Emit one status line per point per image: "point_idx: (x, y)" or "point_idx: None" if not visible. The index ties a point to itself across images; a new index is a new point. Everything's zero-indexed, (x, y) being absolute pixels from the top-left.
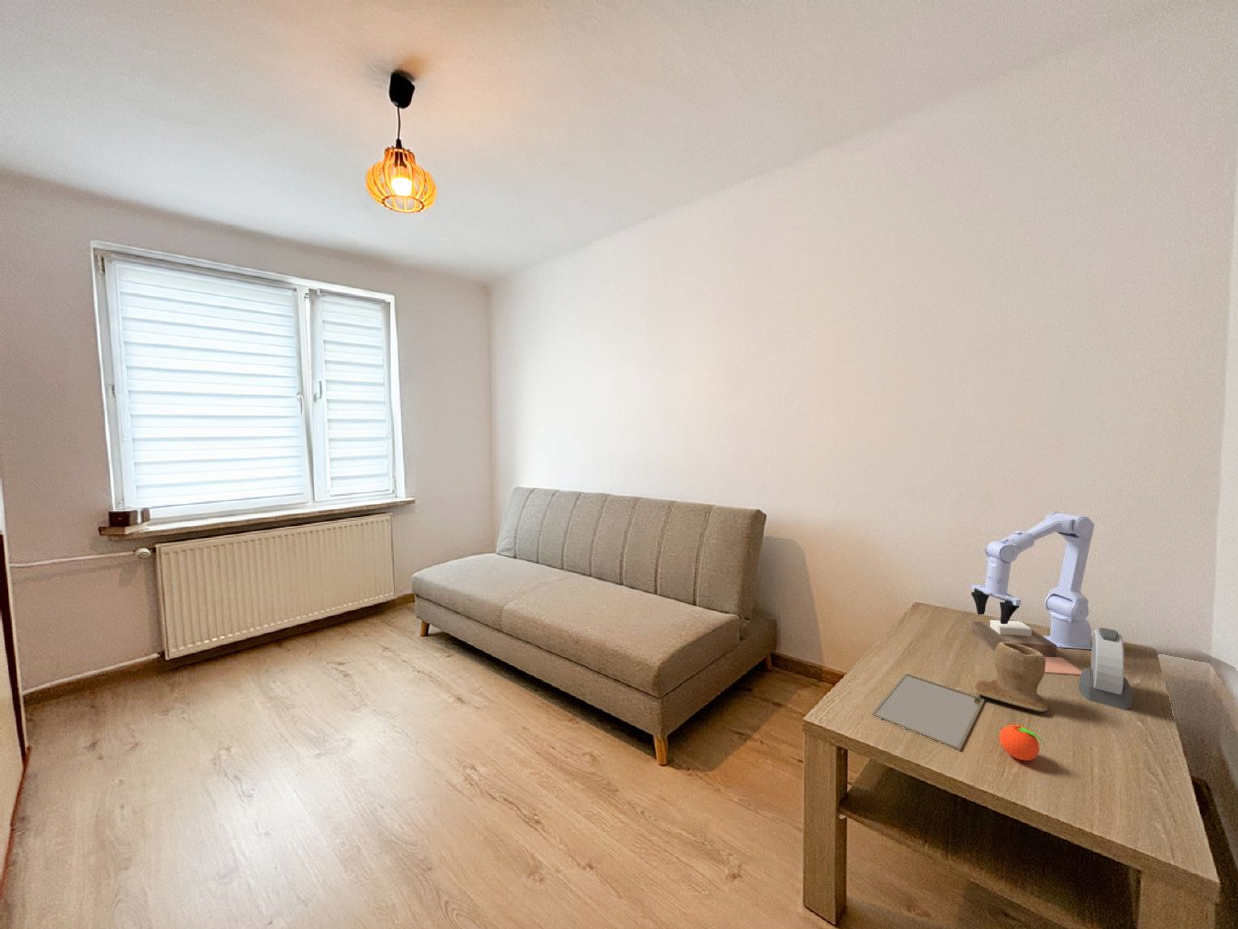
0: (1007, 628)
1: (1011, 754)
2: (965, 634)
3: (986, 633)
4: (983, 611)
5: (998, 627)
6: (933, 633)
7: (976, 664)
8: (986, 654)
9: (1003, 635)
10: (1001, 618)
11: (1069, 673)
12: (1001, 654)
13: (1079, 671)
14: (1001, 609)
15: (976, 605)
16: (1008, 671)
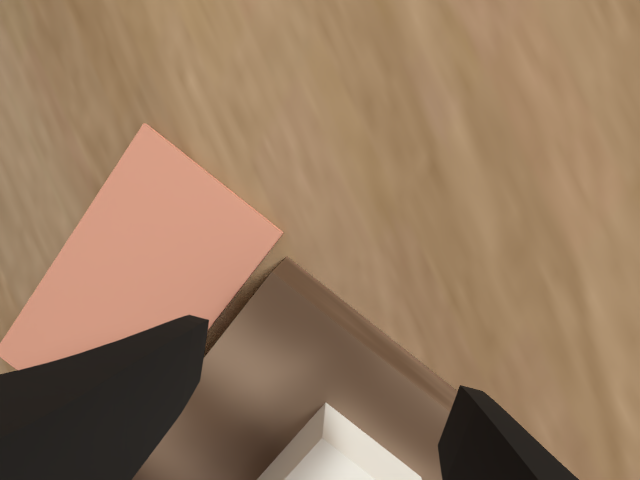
0: (293, 466)
1: None
2: (504, 363)
3: (387, 359)
4: (451, 470)
5: (343, 445)
6: (631, 216)
7: (279, 15)
8: (314, 194)
9: (306, 400)
10: (161, 336)
11: (26, 304)
12: None
13: (20, 361)
14: (30, 413)
15: (566, 474)
16: None
